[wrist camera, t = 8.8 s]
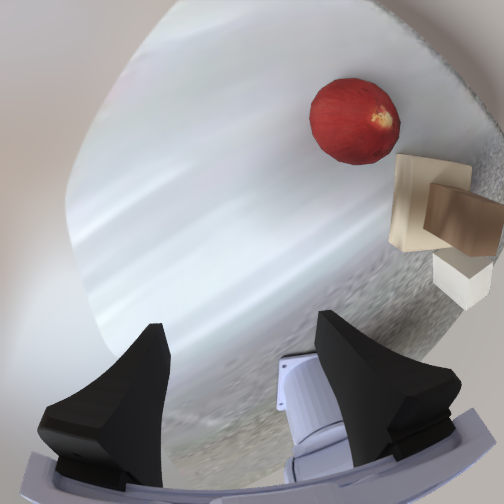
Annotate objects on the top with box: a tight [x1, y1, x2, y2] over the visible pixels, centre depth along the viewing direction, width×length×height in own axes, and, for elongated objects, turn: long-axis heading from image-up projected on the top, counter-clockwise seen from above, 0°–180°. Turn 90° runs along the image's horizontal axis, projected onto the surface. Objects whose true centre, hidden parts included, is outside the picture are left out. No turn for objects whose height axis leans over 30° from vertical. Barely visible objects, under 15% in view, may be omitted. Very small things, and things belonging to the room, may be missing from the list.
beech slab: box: [388, 154, 472, 252], centre depth 21 cm, size 8×8×3 cm
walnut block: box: [423, 183, 504, 257], centre depth 17 cm, size 4×4×6 cm
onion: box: [309, 78, 401, 165], centre depth 15 cm, size 6×6×8 cm
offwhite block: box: [433, 247, 493, 311], centre depth 22 cm, size 4×4×6 cm
